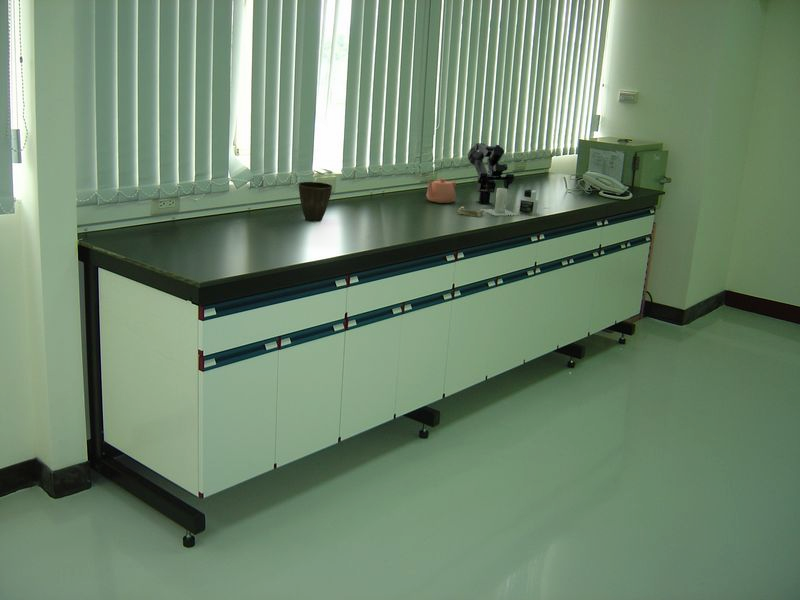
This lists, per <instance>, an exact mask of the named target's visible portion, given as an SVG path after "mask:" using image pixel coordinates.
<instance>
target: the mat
mask: <svg viewBox="0 0 800 600" xmlns="http://www.w3.org/2000/svg"><path fill="white" fill-rule="evenodd" d="M482 209H483V208H482ZM484 211H485V213H486V212H487V214H489V215H491V214H492V215H491V216H493V215H494V217H514V216H515V217H516V216H517V217H519V214H517V213H515V212H512V211H510V210H508V209H505V213H496V212H494V211H495V208H493V209H490V208H489V209H488V208H487V209H486V208H485V209H483V212H484ZM508 215H509V216H508ZM510 215H511V216H510ZM513 215H514V216H513Z"/></svg>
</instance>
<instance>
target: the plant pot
mask: <svg viewBox="0 0 800 600" xmlns="http://www.w3.org/2000/svg"><path fill="white" fill-rule="evenodd" d="M332 190H333V185H332V184H330V183H324V182H318V181H303V182H302V181H301V182H299V183H298V192H299V200H300V205H301V209H302V213H303V216H304V219H306V220H305V221H307V220H308V222H313V221H319V222H322V221H321V220H323V219H324V216H325V213H326V211H327V208H328V205H329V202H330V199H331V194H332Z"/></svg>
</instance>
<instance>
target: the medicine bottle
mask: <svg viewBox="0 0 800 600" xmlns="http://www.w3.org/2000/svg"><path fill="white" fill-rule="evenodd" d="M519 204H520V205H519V211H518V212H519V214H522V213H523V214H524V215H528V214H530V215H529V216H534V215H536V214H538V213H537V212H538V206H539V205H538V204H539V200H538V199H537V191H536V190H534V189H525V190H524V193H523V198H521V199H520V203H519Z"/></svg>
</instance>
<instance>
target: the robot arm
mask: <svg viewBox="0 0 800 600" xmlns="http://www.w3.org/2000/svg"><path fill="white" fill-rule="evenodd" d="M474 144H475V145H474V146H473V147H471V148H469V151H468V153H467V159H468V161H469V163H470V164H472V165H473V166H474V168H475V170H476V173H477V175H478V176H477V179H476V181H477V185H476V188H475V189H476V192H477V193H479V194H478V195H479V197H478V200H475V201H476V203H478V204H480V205H493V202H490V201H491V193H495V190H496V186H497V184H496V181H502V182H503V183H504V184H503V186H504V187H503V188H506V189H508V191H507V193H508V192H509V186H510V185H511V184H513V183H514V180H515V179H516V177H515V174H513V173H505V174H506V175H504V176H503V173H504V172H506V171H507V170H508V168H509V167H508V164H507V163H502V164H501V163H500V161H501V160H502V157H503V156H504V153H505V150H504V149H503V148H502V147H501V146H500V144H495V145H493V146H492V145H487V144H485V143H484V142H483V143H481V142H477V143H474ZM485 158H487V159H486V165H487V168H488V169H486V166H485V163H484V159H485ZM499 163H500V164H499ZM487 170H488V171H487Z"/></svg>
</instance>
